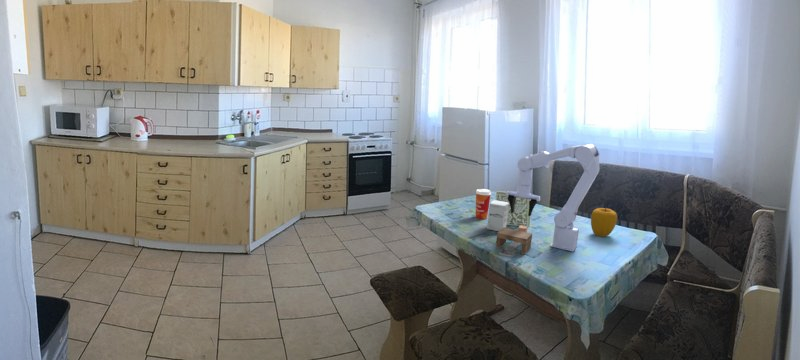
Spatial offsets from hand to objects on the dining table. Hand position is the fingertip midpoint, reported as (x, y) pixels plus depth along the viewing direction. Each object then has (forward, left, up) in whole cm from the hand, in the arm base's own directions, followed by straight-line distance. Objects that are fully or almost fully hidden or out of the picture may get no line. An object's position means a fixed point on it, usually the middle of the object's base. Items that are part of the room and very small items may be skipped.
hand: (521, 213), depth 199 cm
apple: (-31, -24, -10) cm, 40 cm away
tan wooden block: (-3, +13, -10) cm, 17 cm away
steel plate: (-3, +25, -10) cm, 27 cm away
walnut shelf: (-3, +17, -10) cm, 20 cm away
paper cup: (+23, -13, -10) cm, 28 cm away
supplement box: (+11, -2, -10) cm, 15 cm away
